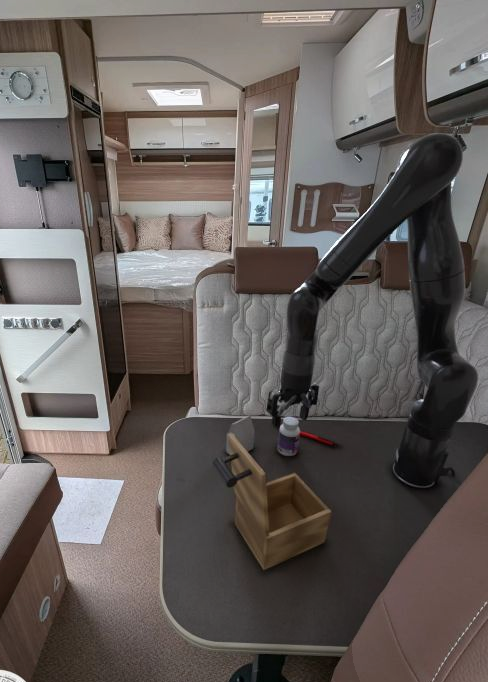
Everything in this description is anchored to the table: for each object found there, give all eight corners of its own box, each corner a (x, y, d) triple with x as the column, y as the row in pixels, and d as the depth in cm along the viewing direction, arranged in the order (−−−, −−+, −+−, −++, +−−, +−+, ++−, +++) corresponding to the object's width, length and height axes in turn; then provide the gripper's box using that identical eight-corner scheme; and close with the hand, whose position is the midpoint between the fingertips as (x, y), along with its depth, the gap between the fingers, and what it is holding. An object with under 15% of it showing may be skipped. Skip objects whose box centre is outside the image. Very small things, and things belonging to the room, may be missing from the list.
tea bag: (253, 448, 100) (255, 418, 96) (235, 458, 96) (237, 428, 92) (243, 441, 103) (245, 412, 98) (226, 451, 99) (227, 421, 94)
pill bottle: (297, 458, 97) (301, 428, 92) (276, 455, 98) (280, 425, 93) (297, 445, 101) (301, 416, 97) (277, 442, 102) (280, 414, 98)
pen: (337, 447, 101) (338, 444, 100) (273, 426, 110) (274, 422, 109) (338, 446, 101) (339, 442, 101) (275, 424, 110) (275, 421, 110)
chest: (290, 502, 83) (295, 472, 79) (324, 542, 74) (331, 511, 70) (234, 523, 78) (236, 493, 74) (263, 570, 68) (267, 538, 64)
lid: (231, 432, 66) (203, 443, 64) (265, 473, 57) (234, 488, 55) (238, 491, 74) (213, 502, 72) (269, 535, 64) (241, 550, 62)
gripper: (282, 379, 82) (275, 437, 89) (331, 368, 88) (320, 423, 95) (264, 366, 88) (259, 421, 95) (311, 356, 94) (302, 409, 101)
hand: (289, 422), depth 95 cm, fingers open, 8 cm apart
